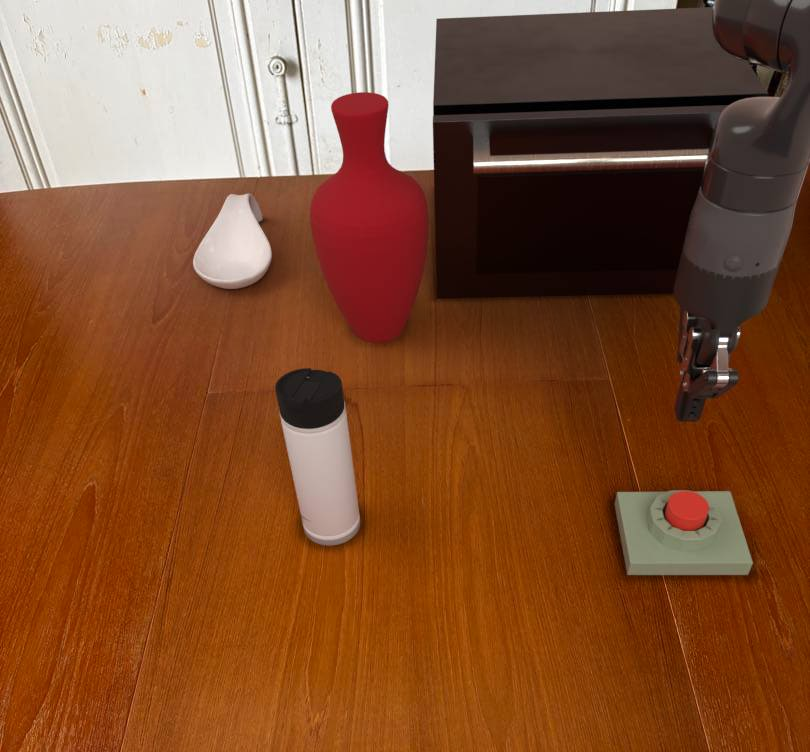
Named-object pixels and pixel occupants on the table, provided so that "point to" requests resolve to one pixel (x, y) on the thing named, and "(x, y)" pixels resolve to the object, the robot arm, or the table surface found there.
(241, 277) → the spoon rest
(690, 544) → the timer box
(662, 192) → the oven door
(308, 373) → the travel mug
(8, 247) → the table surface
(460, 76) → the oven
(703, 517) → the button
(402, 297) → the vase
